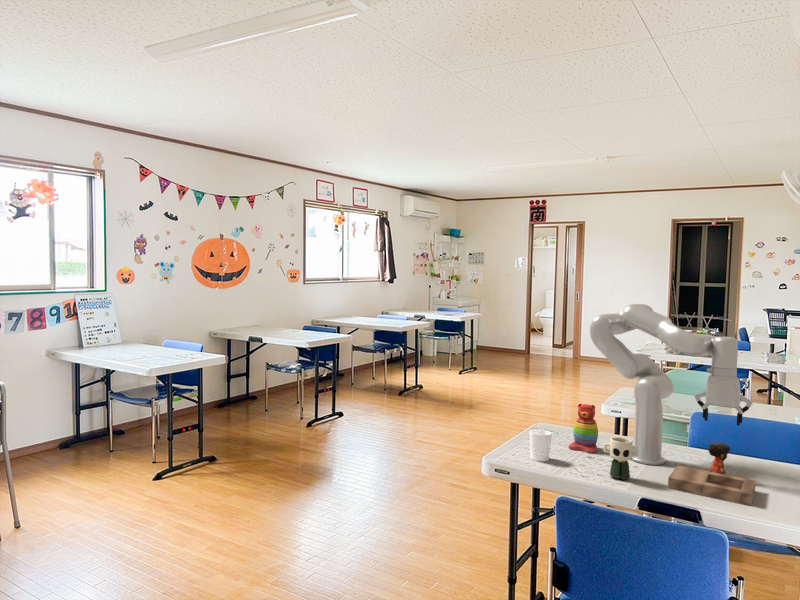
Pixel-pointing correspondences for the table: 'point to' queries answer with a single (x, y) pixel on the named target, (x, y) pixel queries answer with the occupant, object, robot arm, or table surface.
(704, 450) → the table surface
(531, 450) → the white cup
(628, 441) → the character mug
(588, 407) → the stacking bear
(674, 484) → the jig
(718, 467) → the figurine
